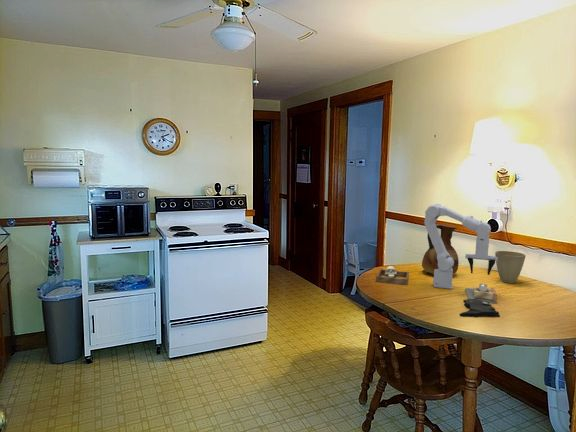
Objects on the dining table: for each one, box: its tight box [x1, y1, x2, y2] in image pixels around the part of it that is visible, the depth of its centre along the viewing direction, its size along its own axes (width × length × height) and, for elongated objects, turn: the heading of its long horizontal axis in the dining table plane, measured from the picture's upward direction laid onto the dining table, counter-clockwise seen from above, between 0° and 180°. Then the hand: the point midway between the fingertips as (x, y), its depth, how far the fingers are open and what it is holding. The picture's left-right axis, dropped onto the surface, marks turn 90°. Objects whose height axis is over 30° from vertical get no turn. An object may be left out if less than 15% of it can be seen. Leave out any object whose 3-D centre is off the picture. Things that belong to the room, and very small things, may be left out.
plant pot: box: [494, 250, 527, 284], centre depth 223 cm, size 15×15×16 cm
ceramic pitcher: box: [421, 223, 460, 275], centre depth 236 cm, size 20×20×30 cm
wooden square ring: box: [472, 286, 493, 300], centre depth 193 cm, size 8×8×3 cm
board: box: [464, 287, 498, 304], centre depth 197 cm, size 12×18×4 cm, turn 161°
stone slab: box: [459, 298, 501, 318], centre depth 179 cm, size 22×16×5 cm
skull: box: [384, 265, 398, 278], centre depth 223 cm, size 12×10×10 cm
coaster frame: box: [375, 268, 410, 286], centre depth 224 cm, size 16×16×3 cm
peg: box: [478, 283, 488, 292], centre depth 193 cm, size 3×3×6 cm
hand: (479, 273), depth 202 cm, fingers open, 7 cm apart
